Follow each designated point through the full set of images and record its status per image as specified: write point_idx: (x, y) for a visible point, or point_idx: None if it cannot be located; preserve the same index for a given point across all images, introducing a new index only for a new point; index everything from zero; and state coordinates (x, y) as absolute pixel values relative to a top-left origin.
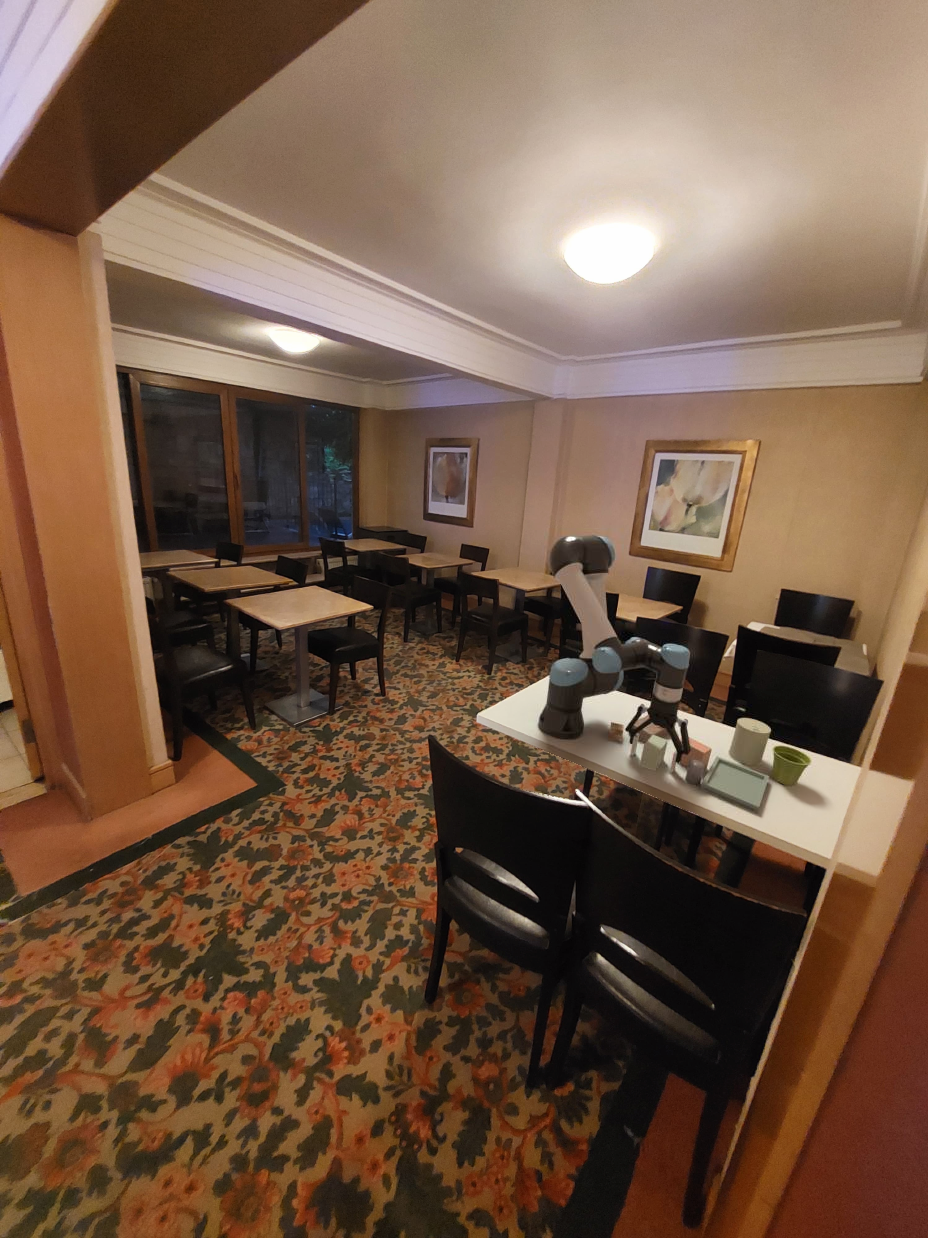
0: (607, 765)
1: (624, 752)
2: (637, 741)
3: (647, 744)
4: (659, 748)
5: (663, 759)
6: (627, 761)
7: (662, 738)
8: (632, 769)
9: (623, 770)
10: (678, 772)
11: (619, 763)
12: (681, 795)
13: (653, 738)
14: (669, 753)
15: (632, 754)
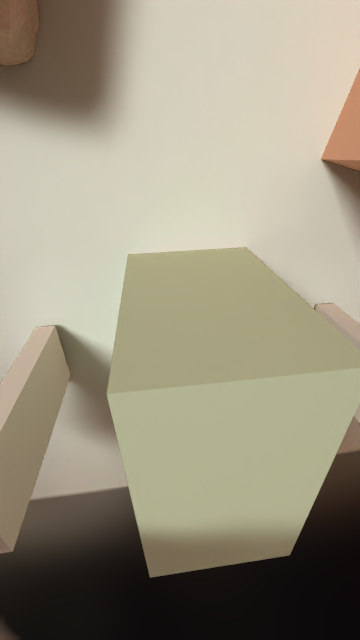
0: (48, 493)
1: (7, 367)
2: (17, 413)
3: (170, 561)
4: (284, 539)
5: (247, 251)
6: (84, 421)
7: (286, 381)
8: None
9: (116, 475)
10: (351, 310)
11: (70, 456)
12: (355, 440)
13: (169, 465)
14: (273, 63)
15: (66, 385)
